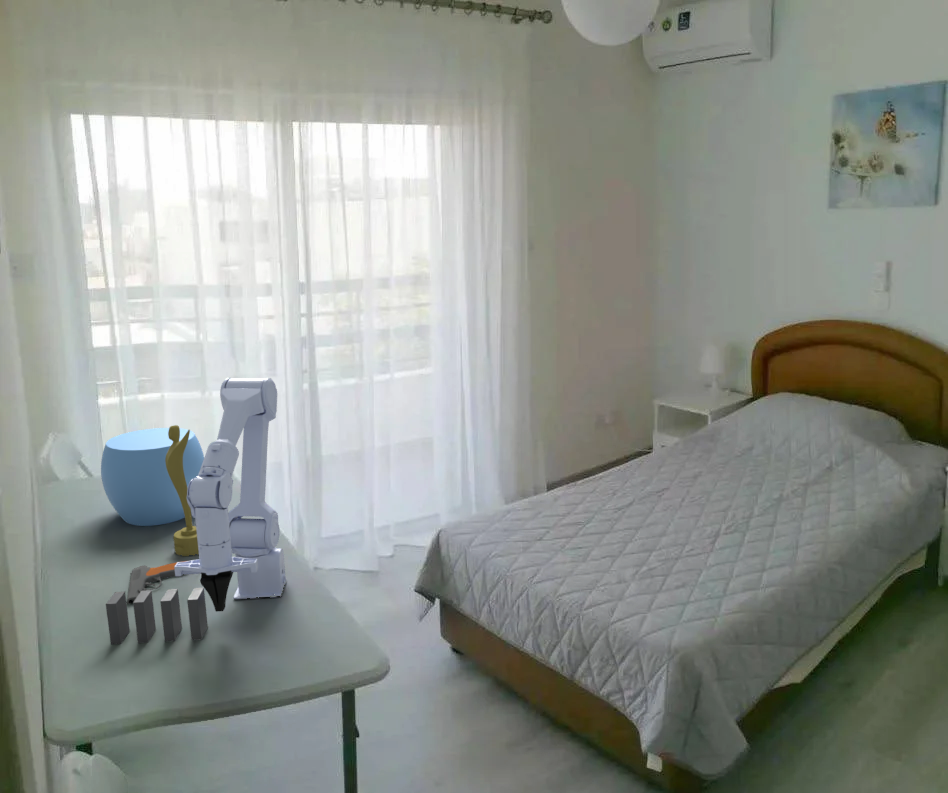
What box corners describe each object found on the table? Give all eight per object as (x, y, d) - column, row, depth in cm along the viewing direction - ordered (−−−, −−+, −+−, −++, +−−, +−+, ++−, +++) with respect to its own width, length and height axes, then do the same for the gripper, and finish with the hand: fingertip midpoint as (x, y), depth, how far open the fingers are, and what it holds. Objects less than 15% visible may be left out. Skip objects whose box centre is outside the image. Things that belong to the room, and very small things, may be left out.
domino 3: (207, 626, 157) (203, 587, 155) (201, 639, 152) (197, 599, 151) (198, 627, 157) (194, 588, 155) (191, 640, 152) (187, 599, 150)
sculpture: (166, 548, 194) (153, 423, 188) (196, 539, 199) (184, 418, 193) (187, 562, 186) (173, 432, 180) (217, 552, 191) (205, 426, 185)
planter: (181, 491, 234) (174, 421, 230) (227, 512, 217) (220, 436, 213) (91, 515, 217) (81, 440, 213) (132, 539, 200) (123, 458, 195)
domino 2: (182, 628, 157) (177, 588, 155) (174, 641, 152) (170, 600, 150) (172, 628, 157) (167, 589, 155) (164, 641, 152) (160, 601, 150)
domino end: (129, 630, 156) (125, 591, 154) (120, 643, 151) (116, 603, 150) (119, 631, 156) (115, 592, 154) (110, 644, 151) (105, 603, 150)
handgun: (189, 596, 171) (126, 606, 167) (189, 566, 185) (131, 574, 182) (188, 588, 170) (125, 598, 167) (188, 559, 185) (130, 567, 181)
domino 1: (155, 629, 156) (151, 590, 155) (147, 642, 152) (143, 602, 150) (146, 630, 156) (141, 590, 155) (137, 643, 152) (133, 602, 150)
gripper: (166, 550, 147) (174, 621, 149) (250, 546, 147) (256, 617, 150) (177, 535, 153) (184, 603, 156) (257, 531, 154) (263, 599, 157)
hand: (220, 608), depth 154 cm, fingers closed
